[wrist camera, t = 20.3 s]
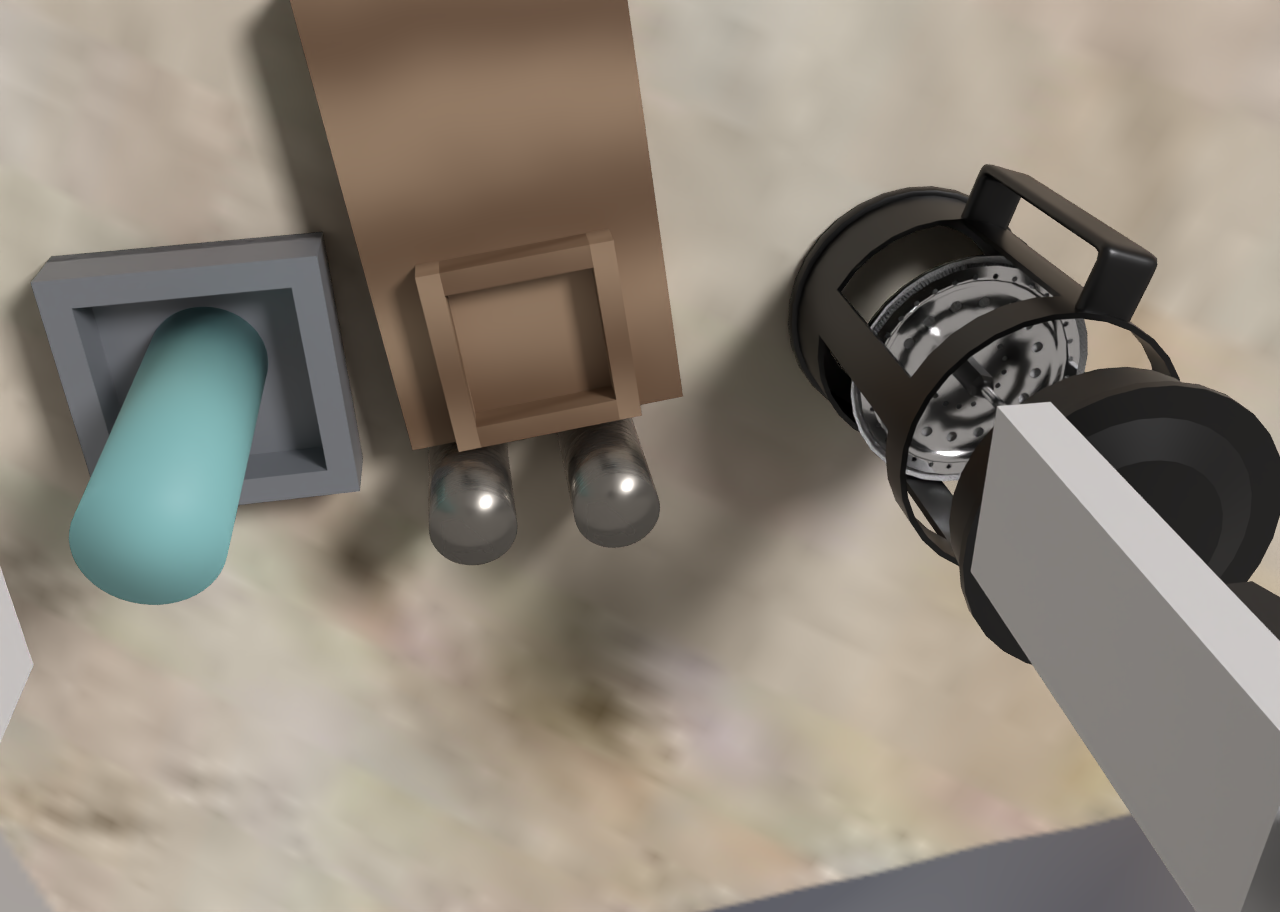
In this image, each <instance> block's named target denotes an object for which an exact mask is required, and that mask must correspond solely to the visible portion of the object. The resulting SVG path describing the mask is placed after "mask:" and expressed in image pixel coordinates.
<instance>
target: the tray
mask: <svg viewBox="0 0 1280 912" xmlns="http://www.w3.org/2000/svg"><path fill="white" fill-rule="evenodd" d="M31 285H32V289H33V292H34V295H35V298H36V302H37V305H38V308H39V311H40V315H41V318H42V321H43V324H44V328H45V331H46V334H47V337H48V341H49V344H50V347H51V350H52V354H53V357H54V360H55V363H56V367H57V370H58V373H59V376H60V380H61V383H62V386H63V389H64V393H65V396H66V399H67V402H68V406H69V409H70V412H71V415H72V419H73V422H74V425H75V428H76V432H77V435H78V438H79V441H80V445H81V448H82V451H83V454H84V458H85V461H86V464H87V467H88V471H89V474H90V477H91V476H92V474H93V471H94V469H95V467H96V465H97V462H98V460H99V458H100V455H101V453H102V451H103V449H104V446H105V444H106V442H107V440H108V437H109V435H110V433H111V430H112V428H113V426H114V424H115V421H116V419H117V417H118V414H119V412H120V410H121V408H122V405H123V403H124V401H125V399H126V396H127V394H128V392H129V389H130V387H131V385H132V383H133V380H134V378H135V376H136V374H137V371H138V369H139V367H140V364H141V362H142V360H143V358H144V355H145V353H146V351H147V349H148V346H149V344H150V342H151V339H152V337H153V335H154V333H155V331H156V330H157V328H158V327H159V326H160V325H161V323H162V322H163V321H165V320H166V319H167V318H168V317H170V316H171V315H173V314H175V313H177V312H179V311H181V310H185V309H188V308H193V307H214V308H220V309H223V310H227V311H229V312H231V313H234V314H236V315H238V316H239V317H241V318H242V319H244V320H245V321H247V322H248V323H249V324H250V325H251V326H252V327H253V328H254V329H255V330H256V331H257V332H258V334H259V335H260V337H261V338H262V340H263V342H264V344H265V347H266V350H267V355H268V371H267V376H266V380H265V385H264V390H263V394H262V399H261V403H260V408H259V412H258V417H257V421H256V426H255V431H254V435H253V440H252V444H251V449H250V453H249V458H248V463H247V467H246V472H245V476H244V481H243V485H242V490H241V494H240V499H239V504H238V505H243V504H252V503H260V502H269V501H278V500H286V499H295V498H304V497H312V496H321V495H330V494H338V493H347V492H356V491H360V485H361V474H362V463H363V456H362V450H361V445H360V439H359V433H358V428H357V422H356V417H355V411H354V405H353V400H352V394H351V389H350V383H349V377H348V372H347V366H346V361H345V355H344V349H343V344H342V338H341V333H340V327H339V321H338V316H337V310H336V305H335V299H334V293H333V288H332V282H331V277H330V271H329V265H328V260H327V254H326V249H325V243H324V237H323V232H316V233H305V234H294V235H283V236H272V237H261V238H250V239H239V240H227V241H216V242H205V243H194V244H183V245H172V246H161V247H150V248H139V249H128V250H117V251H106V252H95V253H84V254H73V255H62V256H51V258H50V259H49V260H48V261H47V263H46V264H45V265H44V266H43V268H42V269H41V270H40V271H39V273H38V274H37V275H36V276H35V278H34V279H33V280H32V281H31Z"/></svg>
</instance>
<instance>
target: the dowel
mask: <svg viewBox="0 0 1280 912" xmlns="http://www.w3.org/2000/svg"><path fill="white" fill-rule="evenodd" d="M267 371H268V355H267V350H266V347H265V344H264V342H263V340H262V338H261V337H260V335H259V334H258V332H257V331H256V330H255V329H254V328H253V327H252V326H251V325H250V324H249V323H248V322H247V321H245V320H244V319H242V318H241V317H239V316H238V315H236V314H234V313H231V312H229V311H227V310H223V309H220V308H214V307H193V308H188V309H185V310H181V311H179V312H177V313H175V314H173V315H171V316H170V317H168V318H167V319H166V320H165V321H163V322H162V323H161V325H160V326H159V327H158V328H157V330H156V331H155V333H154V335H153V337H152V339H151V342H150V344H149V346H148V349H147V351H146V353H145V355H144V358H143V360H142V362H141V364H140V367H139V369H138V371H137V374H136V376H135V378H134V380H133V383H132V385H131V387H130V389H129V392H128V394H127V396H126V399H125V401H124V403H123V405H122V408H121V410H120V412H119V414H118V417H117V419H116V421H115V424H114V426H113V428H112V430H111V433H110V435H109V437H108V440H107V442H106V444H105V446H104V449H103V451H102V453H101V455H100V458H99V460H98V462H97V465H96V467H95V469H94V471H93V474H92V476H91V478H90V480H89V483H88V485H87V487H86V490H85V492H84V494H83V496H82V499H81V501H80V503H79V505H78V508H77V510H76V512H75V515H74V517H73V519H72V522H71V526H70V530H69V543H70V549H71V552H72V556H73V558H74V560H75V562H76V564H77V566H78V567H79V569H80V570H81V572H82V573H83V574H84V575H85V576H86V577H87V578H88V579H89V580H90V581H91V582H92V583H93V584H94V585H96V586H97V587H98V588H100V589H101V590H103V591H105V592H106V593H108V594H110V595H112V596H115V597H117V598H119V599H122V600H126V601H129V602H134V603H139V604H148V605H161V604H170V603H175V602H179V601H182V600H185V599H188V598H190V597H192V596H195V595H197V594H198V593H200V592H202V591H203V590H205V589H206V588H207V587H208V586H209V585H211V584H212V583H213V581H214V580H215V579H216V578H217V577H218V575H219V574H220V572H221V571H222V569H223V567H224V564H225V561H226V558H227V554H228V549H229V545H230V540H231V536H232V531H233V526H234V522H235V517H236V513H237V508H238V504H239V499H240V494H241V490H242V485H243V481H244V476H245V472H246V467H247V463H248V458H249V453H250V449H251V444H252V440H253V435H254V431H255V426H256V421H257V417H258V412H259V408H260V403H261V399H262V394H263V390H264V385H265V380H266V376H267Z"/></svg>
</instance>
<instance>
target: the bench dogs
mask: <svg viewBox="0 0 1280 912" xmlns="http://www.w3.org/2000/svg"><path fill="white" fill-rule="evenodd" d="M558 440H559V445H560V450H561V455H562V459H563V464H564V469H565V474H566V479H567V483H568V488H569V493H570V498H571V503H572V507H573V512H574V517H575V521H576V525H577V527H578V529H579V531H580V532H581V533H582V535H583V536H584V537H585V538H587V539H588V540H589V541H591V542H593V543H595V544H597V545H600V546H603V547H612V548H615V547H624V546H628V545H631V544H633V543H636V542H637V541H639V540H641V539H642V538H644V537H645V536H646V535H647V534H648V533H649V532H650V531H651V530H652V529H653V527H654V526H655V524H656V522H657V520H658V517H659V512H660V503H659V499H658V495H657V492H656V489H655V486H654V483H653V480H652V477H651V474H650V471H649V468H648V465H647V462H646V459H645V456H644V453H643V450H642V447H641V444H640V441H639V438H638V435H637V432H636V429H635V426H634V423H633V420H632V418H626V419H621V420H616V421H611V422H606V423H601V424H596V425H591V426H586V427H581V428H576V429H571V430H566V431H561V432H558ZM428 459H429V534H430V538H431V541H432V543H433V545H434V547H435V548H436V549H437V551H438V552H439V553H440V554H441V555H443V556H444V557H445V558H447V559H449V560H451V561H453V562H456V563H459V564H465V565H479V564H484V563H488V562H491V561H493V560H495V559H497V558H499V557H500V556H502V555H503V554H504V553H505V552H506V551H507V550H508V549H509V548H510V547H511V545H512V543H513V542H514V539H515V537H516V533H517V519H516V511H515V504H514V496H513V488H512V480H511V472H510V465H509V457H508V449H507V442H506V443H501V444H496V445H491V446H486V447H481V448H476V449H471V450H466V451H461V452H459V451H458V447H457V443H456V442H452V443H447V444H442V445H437V446H432V447H428Z"/></svg>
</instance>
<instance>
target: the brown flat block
mask: <svg viewBox="0 0 1280 912" xmlns="http://www.w3.org/2000/svg"><path fill="white" fill-rule="evenodd" d="M290 3H291V7H292V10H293V14H294V18H295V21H296V25H297V29H298V32H299V36H300V40H301V43H302V47H303V51H304V54H305V58H306V62H307V65H308V69H309V73H310V76H311V80H312V84H313V87H314V91H315V95H316V98H317V102H318V106H319V109H320V113H321V117H322V120H323V124H324V128H325V131H326V135H327V139H328V142H329V146H330V150H331V153H332V157H333V161H334V164H335V168H336V171H337V175H338V179H339V182H340V186H341V190H342V193H343V197H344V201H345V204H346V208H347V212H348V215H349V219H350V223H351V226H352V230H353V234H354V237H355V241H356V245H357V248H358V252H359V256H360V259H361V263H362V267H363V270H364V274H365V278H366V281H367V285H368V289H369V292H370V296H371V300H372V303H373V307H374V311H375V314H376V318H377V322H378V325H379V329H380V333H381V336H382V340H383V344H384V347H385V351H386V355H387V358H388V362H389V365H390V369H391V373H392V376H393V380H394V384H395V387H396V391H397V395H398V398H399V402H400V406H401V409H402V413H403V417H404V420H405V424H406V428H407V431H408V435H409V439H410V442H411V446H412V450H417V449H422V448H427V447H432V446H437V445H442V444H447V443H452V442H456V443H457V447H458V451H459V452H461V451H466V450H471V449H476V448H481V447H486V446H491V445H496V444H501V443H506V442H511V441H516V440H521V439H526V438H531V437H536V436H541V435H546V434H551V433H556V432H561V431H566V430H571V429H576V428H581V427H586V426H591V425H596V424H601V423H606V422H611V421H616V420H621V419H626V418H631V417H636V416H641V415H642V414H641V407H640V405H642V404H647V403H652V402H657V401H662V400H667V399H672V398H677V397H682V396H683V394H682V387H681V379H680V372H679V365H678V358H677V351H676V344H675V337H674V329H673V322H672V315H671V308H670V301H669V294H668V287H667V279H666V272H665V265H664V258H663V251H662V244H661V237H660V229H659V222H658V215H657V208H656V201H655V194H654V187H653V179H652V172H651V165H650V158H649V151H648V144H647V137H646V129H645V122H644V115H643V108H642V101H641V94H640V87H639V79H638V72H637V65H636V58H635V51H634V44H633V37H632V30H631V22H630V15H629V8H628V1H627V0H290Z"/></svg>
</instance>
